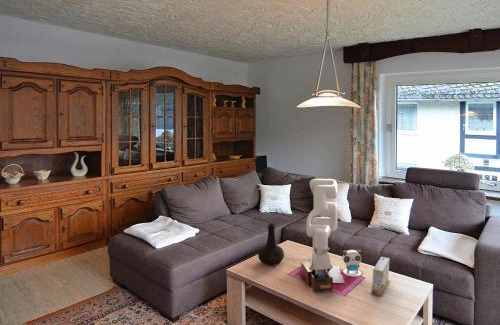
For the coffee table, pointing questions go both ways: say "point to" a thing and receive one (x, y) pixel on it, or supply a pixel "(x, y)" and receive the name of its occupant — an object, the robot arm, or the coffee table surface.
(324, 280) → the drawer
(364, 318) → the coffee table surface
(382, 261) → the snack box
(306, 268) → the cabinet
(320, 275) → the block
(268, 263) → the black vase
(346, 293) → the coffee table surface
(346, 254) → the panda figurine
